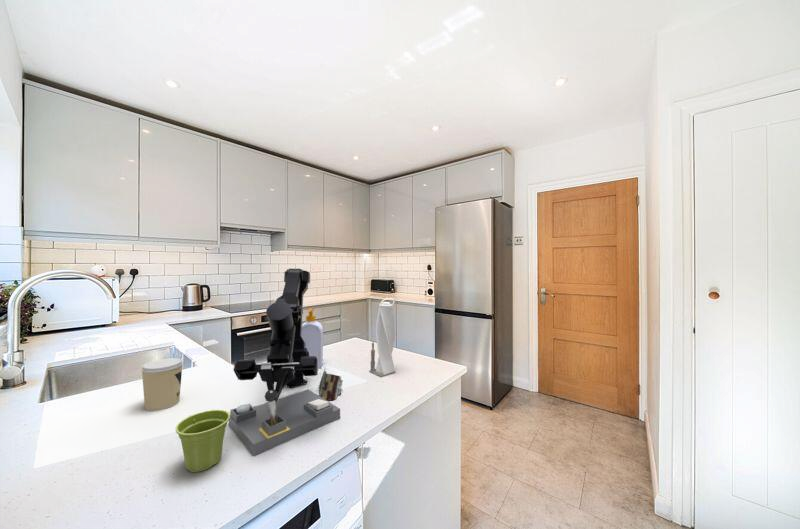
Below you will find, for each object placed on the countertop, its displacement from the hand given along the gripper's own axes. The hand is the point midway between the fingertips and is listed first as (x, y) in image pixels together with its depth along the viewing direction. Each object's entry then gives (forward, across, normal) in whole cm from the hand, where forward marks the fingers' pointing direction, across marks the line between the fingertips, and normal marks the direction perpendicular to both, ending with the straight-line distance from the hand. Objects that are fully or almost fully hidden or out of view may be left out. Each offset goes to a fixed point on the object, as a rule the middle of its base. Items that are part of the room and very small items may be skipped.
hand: (272, 403), depth 68 cm
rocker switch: (-3, -10, -10) cm, 14 cm away
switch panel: (0, -1, -14) cm, 14 cm away
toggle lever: (+3, 0, -5) cm, 6 cm away
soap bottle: (-29, -4, -42) cm, 52 cm away
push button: (-2, +9, -12) cm, 15 cm away
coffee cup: (-12, +35, -25) cm, 44 cm away
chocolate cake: (-10, -12, -24) cm, 28 cm away
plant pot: (+10, +12, -4) cm, 16 cm away
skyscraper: (-21, -32, -34) cm, 52 cm away
